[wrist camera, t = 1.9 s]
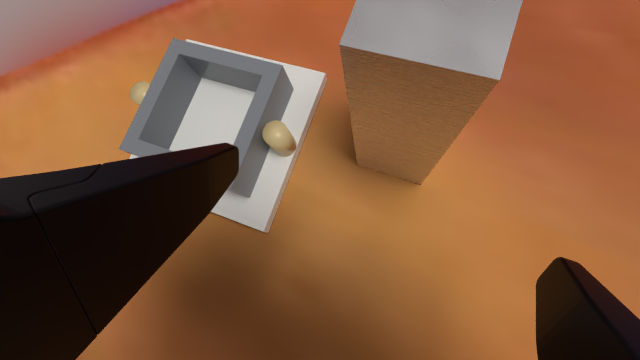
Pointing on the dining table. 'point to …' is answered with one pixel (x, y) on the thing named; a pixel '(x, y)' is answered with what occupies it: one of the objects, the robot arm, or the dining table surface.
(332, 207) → the dining table surface
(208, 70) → the housing plate
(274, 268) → the dining table surface
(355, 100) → the grey metal square bar
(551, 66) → the dining table surface
